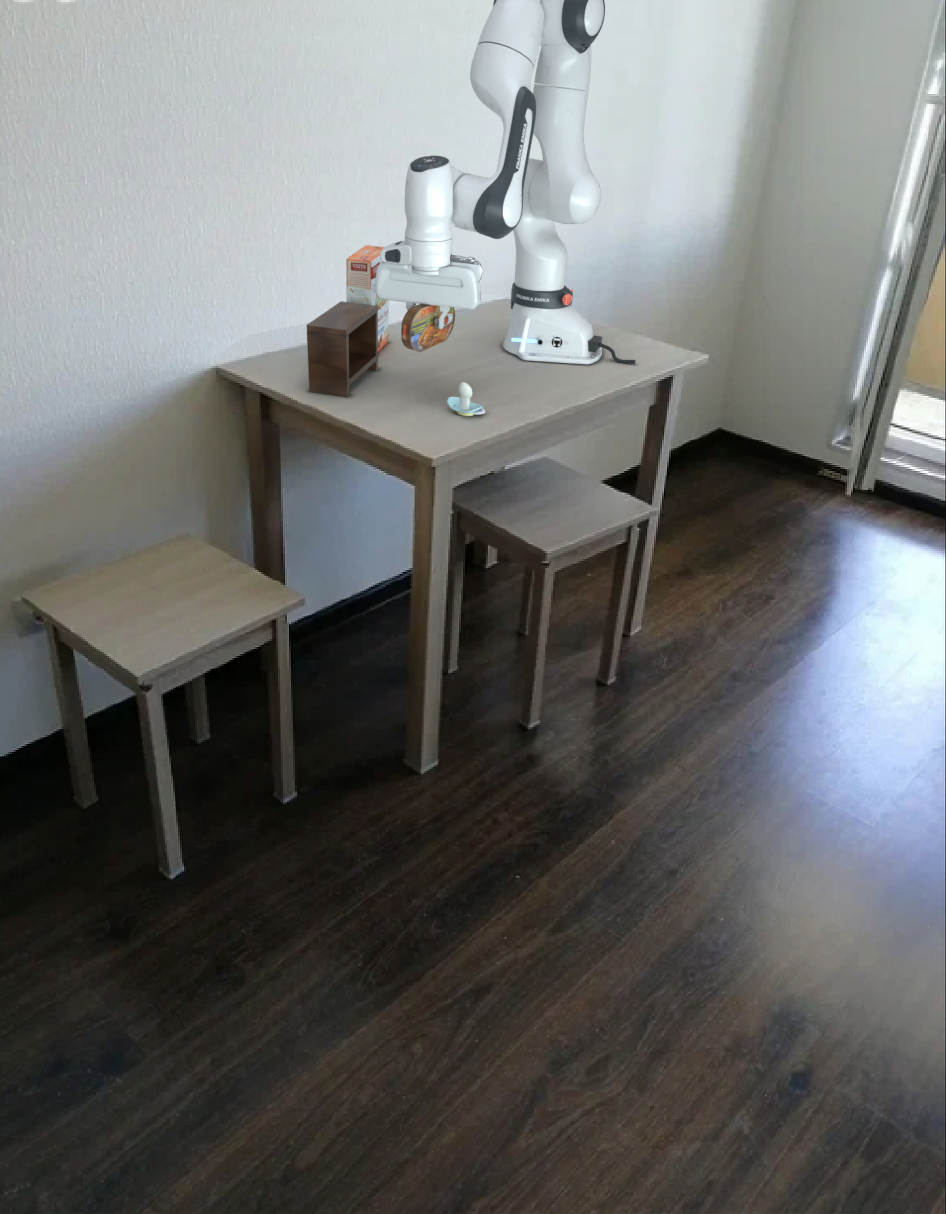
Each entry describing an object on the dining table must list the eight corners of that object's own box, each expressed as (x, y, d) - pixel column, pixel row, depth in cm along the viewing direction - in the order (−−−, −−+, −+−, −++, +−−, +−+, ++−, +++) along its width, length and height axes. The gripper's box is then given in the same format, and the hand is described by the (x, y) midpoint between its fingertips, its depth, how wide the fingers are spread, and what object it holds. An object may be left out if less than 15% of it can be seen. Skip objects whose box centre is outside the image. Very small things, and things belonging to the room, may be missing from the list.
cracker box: (372, 361, 211) (372, 260, 200) (345, 358, 212) (343, 257, 201) (390, 342, 223) (391, 246, 211) (364, 339, 223) (364, 243, 212)
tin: (409, 356, 187) (412, 313, 182) (396, 352, 188) (399, 308, 183) (454, 337, 198) (458, 296, 193) (441, 333, 199) (445, 291, 194)
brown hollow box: (378, 368, 207) (377, 305, 200) (347, 397, 192) (346, 329, 185) (342, 364, 208) (340, 301, 201) (309, 391, 194) (306, 324, 187)
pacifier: (462, 404, 192) (442, 411, 188) (464, 372, 189) (444, 379, 185) (492, 414, 189) (473, 421, 184) (494, 382, 186) (475, 389, 181)
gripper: (486, 254, 184) (483, 327, 191) (382, 243, 187) (383, 316, 195) (478, 262, 178) (475, 337, 186) (371, 251, 182) (372, 325, 190)
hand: (427, 326), depth 191 cm, fingers closed on tin, 3 cm apart
